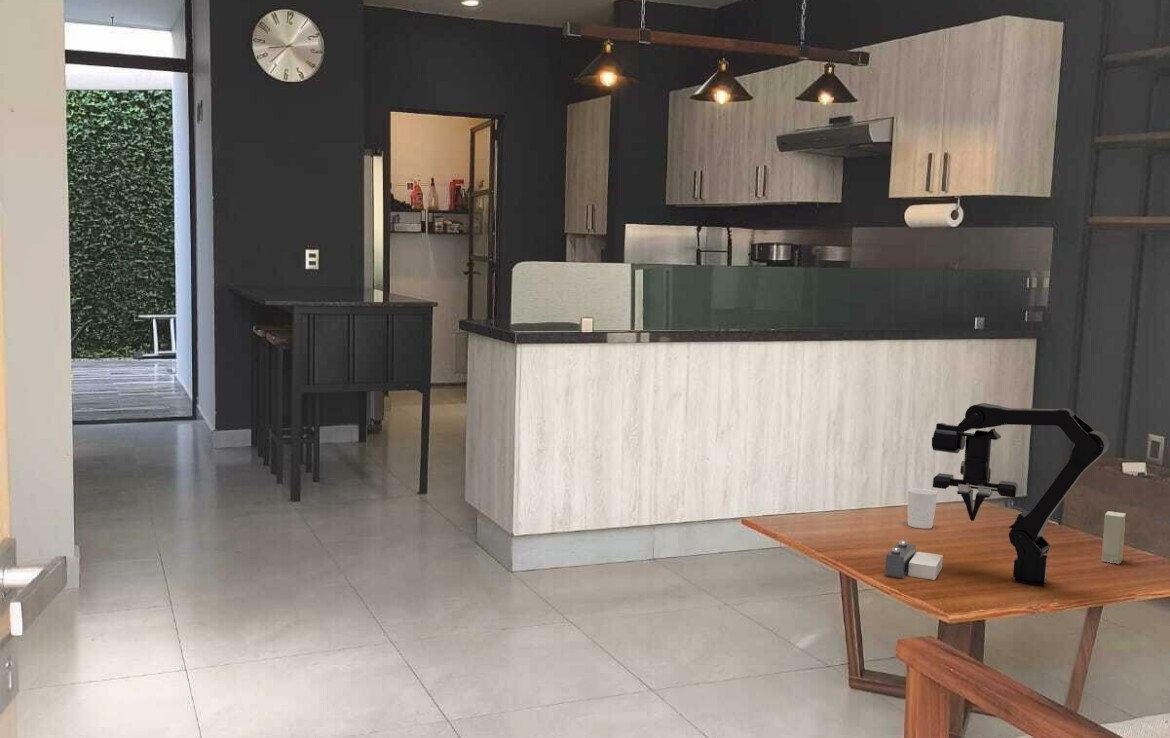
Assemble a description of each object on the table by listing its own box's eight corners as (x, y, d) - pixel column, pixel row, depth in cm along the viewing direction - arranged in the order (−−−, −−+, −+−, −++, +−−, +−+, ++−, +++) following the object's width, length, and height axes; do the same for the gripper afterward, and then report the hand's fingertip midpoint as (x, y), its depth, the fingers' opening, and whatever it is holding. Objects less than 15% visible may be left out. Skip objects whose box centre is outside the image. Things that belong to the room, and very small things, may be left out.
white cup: (901, 522, 311) (903, 487, 310) (927, 523, 311) (930, 488, 311) (912, 529, 303) (914, 493, 302) (939, 529, 304) (942, 494, 303)
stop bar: (914, 565, 264) (916, 540, 264) (902, 578, 252) (904, 553, 251) (897, 562, 266) (899, 538, 265) (885, 575, 254) (886, 550, 253)
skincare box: (1119, 564, 273) (1123, 517, 272) (1100, 561, 275) (1104, 514, 274) (1122, 559, 278) (1126, 513, 277) (1103, 556, 281) (1107, 510, 279)
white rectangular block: (941, 569, 263) (942, 555, 262) (934, 581, 252) (935, 566, 252) (916, 565, 265) (917, 551, 265) (907, 577, 254) (908, 562, 254)
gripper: (1022, 456, 262) (1017, 519, 264) (942, 447, 271) (938, 509, 272) (1017, 462, 253) (1012, 528, 254) (934, 453, 261) (929, 517, 263)
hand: (972, 520), depth 261 cm, fingers closed
